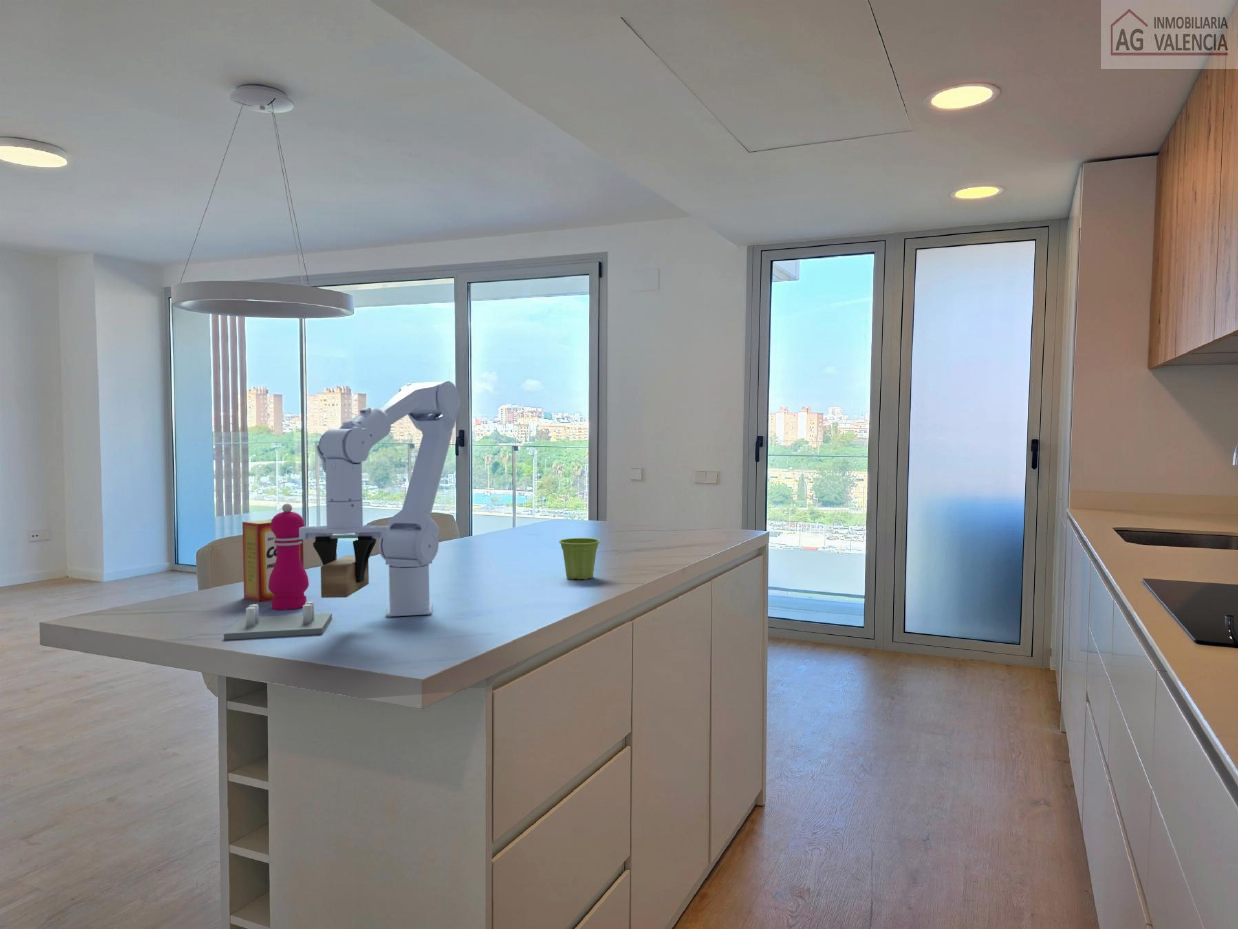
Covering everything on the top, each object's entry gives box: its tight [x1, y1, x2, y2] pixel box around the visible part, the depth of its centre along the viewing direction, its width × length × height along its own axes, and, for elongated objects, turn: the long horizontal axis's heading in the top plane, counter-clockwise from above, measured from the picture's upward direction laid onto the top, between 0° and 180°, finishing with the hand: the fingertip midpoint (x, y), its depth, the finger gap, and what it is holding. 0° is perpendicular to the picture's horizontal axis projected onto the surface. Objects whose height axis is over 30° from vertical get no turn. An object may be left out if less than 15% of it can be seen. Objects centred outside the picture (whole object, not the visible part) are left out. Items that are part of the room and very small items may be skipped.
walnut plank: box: [320, 555, 370, 599], centre depth 133 cm, size 12×4×5 cm, turn 1°
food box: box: [241, 518, 305, 603], centre depth 164 cm, size 10×6×16 cm
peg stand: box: [223, 601, 333, 641], centre depth 136 cm, size 12×15×4 cm
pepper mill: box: [268, 503, 310, 611], centre depth 154 cm, size 7×7×20 cm
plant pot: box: [558, 537, 601, 581], centre depth 183 cm, size 9×9×9 cm
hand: (345, 581), depth 133 cm, fingers closed on walnut plank, 4 cm apart
